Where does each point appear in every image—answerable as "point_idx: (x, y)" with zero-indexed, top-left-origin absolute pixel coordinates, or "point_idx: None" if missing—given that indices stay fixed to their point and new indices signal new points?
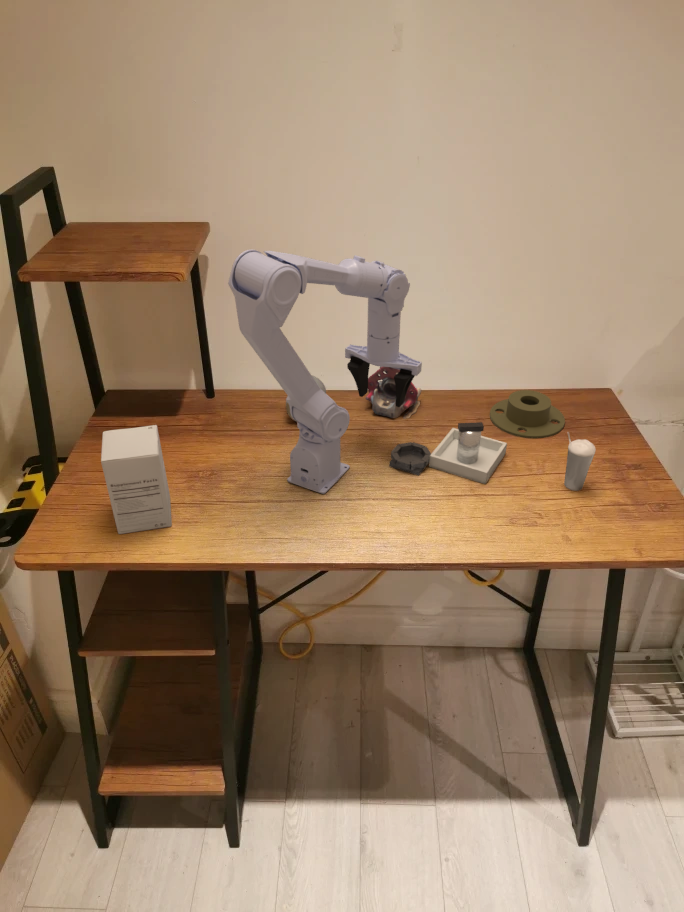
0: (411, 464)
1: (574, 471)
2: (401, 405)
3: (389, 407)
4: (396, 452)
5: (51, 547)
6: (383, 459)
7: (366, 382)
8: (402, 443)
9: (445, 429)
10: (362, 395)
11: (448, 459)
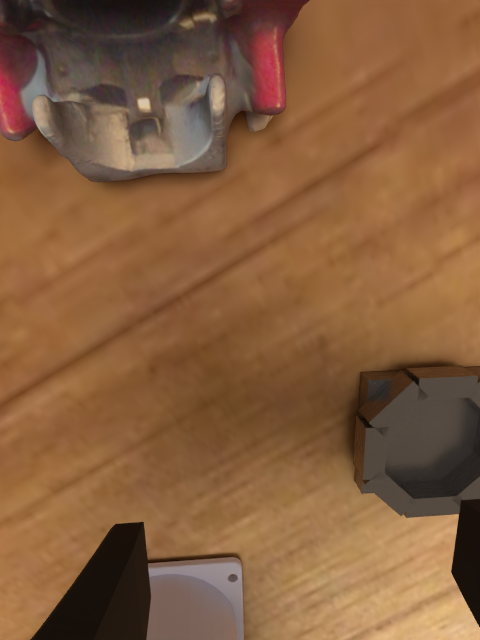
0: None
1: None
2: (231, 90)
3: (187, 162)
4: (385, 476)
5: None
6: (317, 456)
7: (113, 638)
8: (382, 409)
9: (471, 120)
10: (148, 607)
11: None
